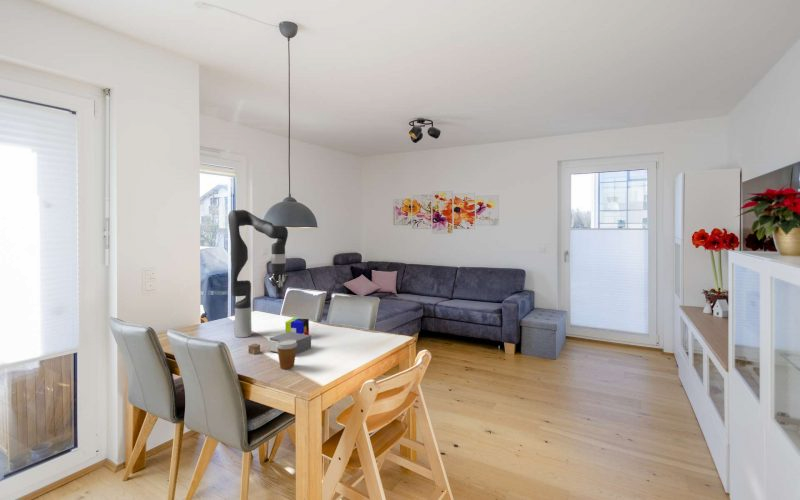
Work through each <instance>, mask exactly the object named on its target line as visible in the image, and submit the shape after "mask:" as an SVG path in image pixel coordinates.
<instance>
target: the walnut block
mask: <svg viewBox="0 0 800 500" xmlns="http://www.w3.org/2000/svg"><path fill="white" fill-rule="evenodd" d="M247 347H248V354H251V355H256V354H258V353H261V344H260V343H252V344H249V345H248V346H247Z"/></svg>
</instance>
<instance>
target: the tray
mask: <svg viewBox="0 0 800 500" xmlns="http://www.w3.org/2000/svg"><path fill="white" fill-rule="evenodd" d="M276 345H277V341H272V340H270V339H268V351H270V352H273V351H274V352H273V353H277V352H278V349H277V346H276Z"/></svg>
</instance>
